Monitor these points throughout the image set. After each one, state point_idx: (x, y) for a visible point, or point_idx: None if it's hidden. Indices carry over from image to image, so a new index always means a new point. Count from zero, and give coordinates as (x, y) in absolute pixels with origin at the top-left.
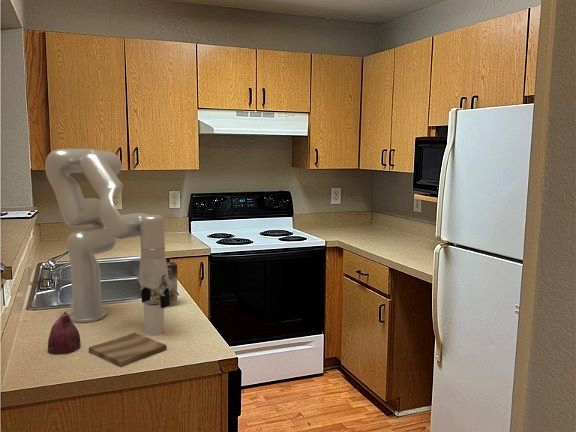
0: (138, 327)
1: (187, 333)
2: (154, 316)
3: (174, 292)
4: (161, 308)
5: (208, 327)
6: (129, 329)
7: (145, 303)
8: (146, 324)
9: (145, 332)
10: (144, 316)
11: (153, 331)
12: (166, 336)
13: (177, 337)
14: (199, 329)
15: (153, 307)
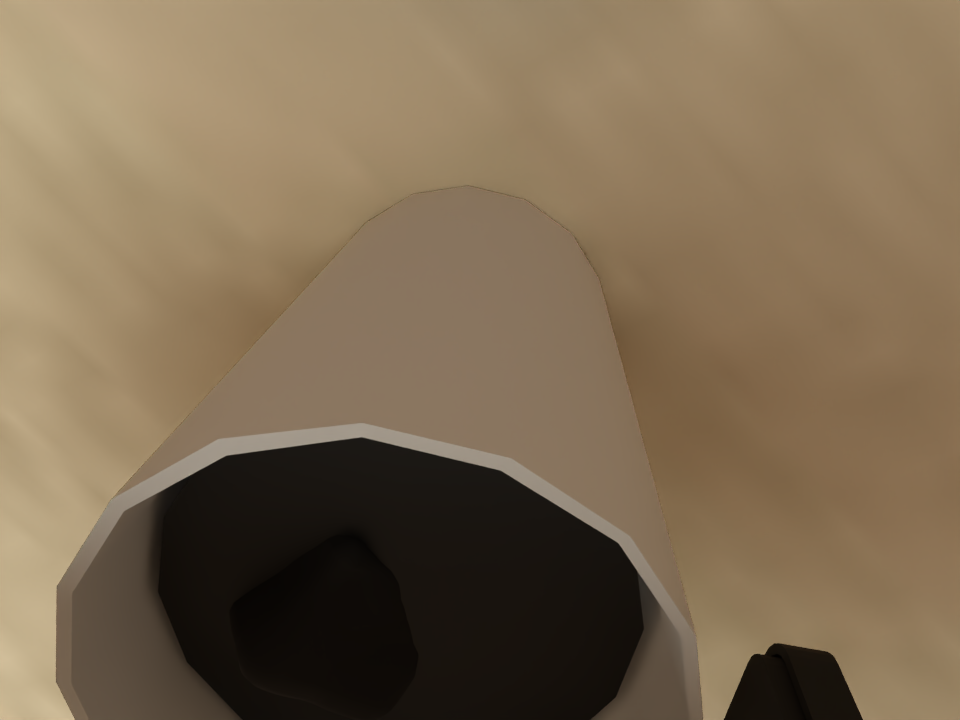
0: (832, 361)
1: (36, 480)
2: (248, 350)
3: None
4: (127, 595)
5: (11, 717)
6: (926, 223)
7: (671, 635)
8: (482, 237)
9: (556, 225)
10: (558, 323)
11: (361, 230)
12: (169, 264)
13: (14, 308)
14: (37, 636)
15: (154, 458)
